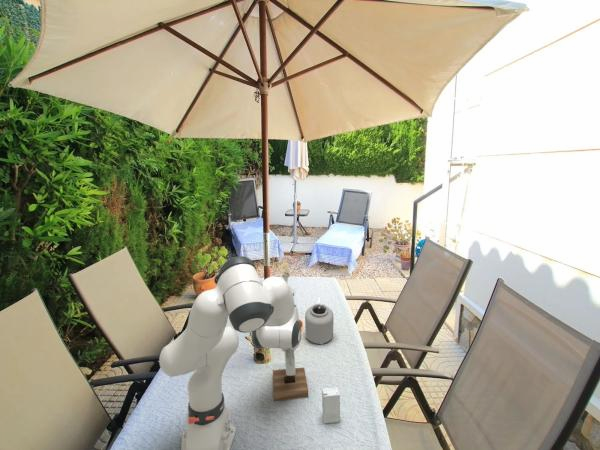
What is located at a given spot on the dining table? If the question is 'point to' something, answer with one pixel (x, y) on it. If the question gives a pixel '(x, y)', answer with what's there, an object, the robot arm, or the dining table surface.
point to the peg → (290, 378)
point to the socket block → (289, 385)
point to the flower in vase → (284, 269)
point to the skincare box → (331, 405)
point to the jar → (319, 323)
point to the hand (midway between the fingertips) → (289, 370)
